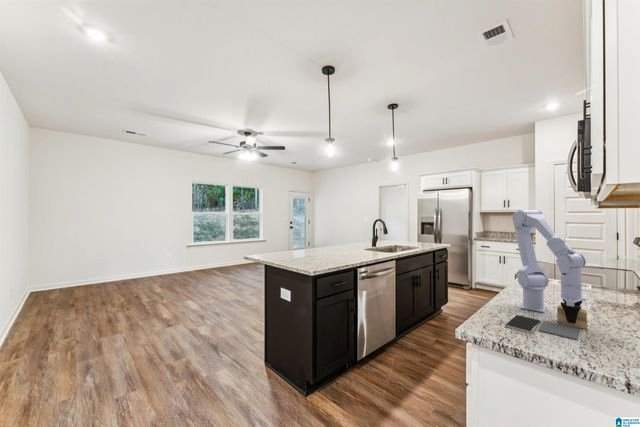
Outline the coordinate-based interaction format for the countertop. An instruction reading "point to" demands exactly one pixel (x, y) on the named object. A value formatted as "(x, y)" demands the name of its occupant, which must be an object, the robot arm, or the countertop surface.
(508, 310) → the countertop surface
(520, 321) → the smartphone
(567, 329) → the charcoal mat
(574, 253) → the robot arm
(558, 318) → the oak slab
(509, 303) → the countertop surface
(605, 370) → the countertop surface
